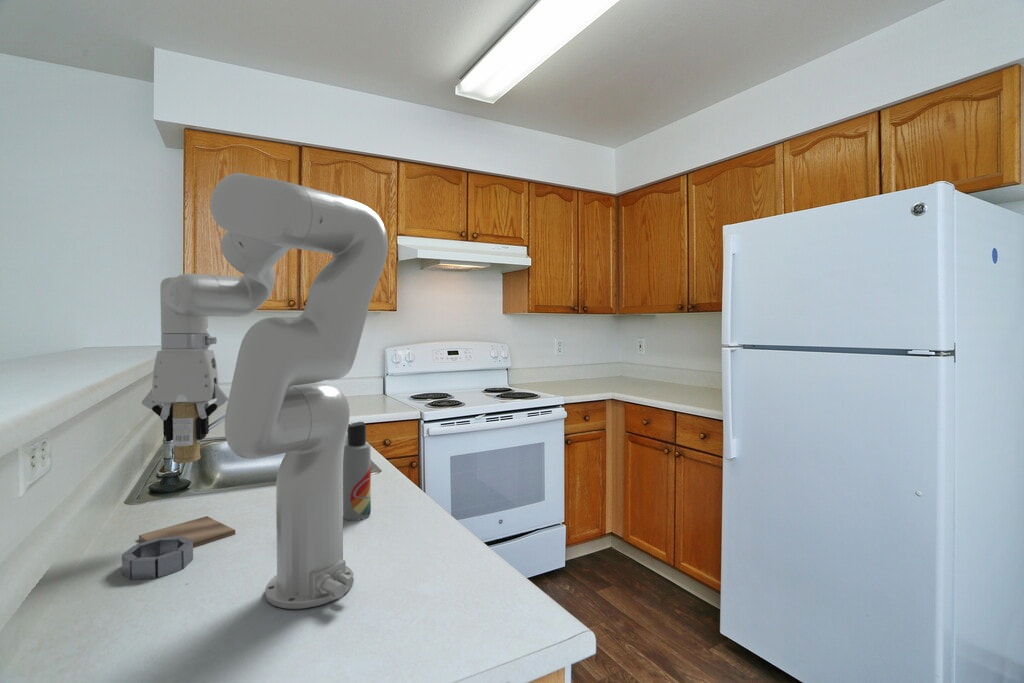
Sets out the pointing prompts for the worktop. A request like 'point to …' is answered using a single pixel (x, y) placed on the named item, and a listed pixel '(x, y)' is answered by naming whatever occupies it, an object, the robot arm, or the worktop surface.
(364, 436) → the lotion bottle
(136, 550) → the grey segmented ring
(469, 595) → the worktop surface
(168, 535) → the walnut board
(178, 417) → the sprinkles bottle
